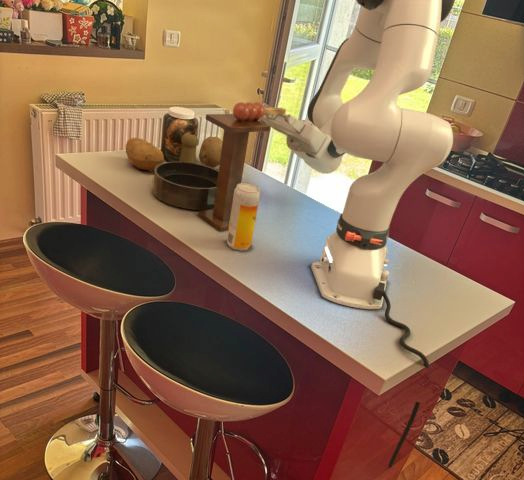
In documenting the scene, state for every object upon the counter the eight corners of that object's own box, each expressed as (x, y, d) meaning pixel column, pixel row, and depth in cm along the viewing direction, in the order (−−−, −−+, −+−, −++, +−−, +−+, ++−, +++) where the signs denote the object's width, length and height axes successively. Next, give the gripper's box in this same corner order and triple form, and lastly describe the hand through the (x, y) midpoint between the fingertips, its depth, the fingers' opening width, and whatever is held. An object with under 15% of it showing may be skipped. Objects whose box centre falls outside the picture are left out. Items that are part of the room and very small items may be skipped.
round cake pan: (218, 217, 147) (221, 194, 144) (145, 202, 147) (146, 178, 143) (228, 191, 164) (231, 170, 160) (162, 178, 163) (163, 156, 159)
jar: (153, 153, 180) (155, 105, 171) (182, 151, 187) (186, 104, 178) (172, 165, 173) (176, 116, 165) (202, 163, 180) (207, 116, 172)
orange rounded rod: (277, 116, 141) (280, 100, 139) (287, 121, 139) (290, 105, 136) (228, 117, 131) (230, 100, 129) (238, 123, 129) (241, 105, 127)
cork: (195, 175, 170) (199, 139, 164) (175, 171, 169) (179, 135, 163) (197, 169, 175) (201, 134, 168) (178, 165, 174) (182, 130, 168)
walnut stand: (229, 210, 153) (244, 113, 137) (252, 225, 147) (270, 126, 132) (194, 216, 145) (205, 114, 130) (216, 231, 140) (231, 127, 125)
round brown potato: (230, 169, 180) (235, 138, 175) (217, 175, 174) (221, 143, 168) (207, 161, 183) (210, 130, 177) (193, 167, 176) (196, 135, 170)
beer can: (255, 248, 136) (266, 190, 127) (238, 253, 132) (248, 194, 123) (238, 238, 139) (247, 181, 130) (221, 243, 135) (229, 184, 126)
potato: (145, 179, 160) (147, 151, 156) (117, 162, 167) (117, 136, 162) (171, 174, 167) (173, 148, 162) (143, 159, 173) (144, 133, 169)
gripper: (284, 116, 153) (256, 88, 142) (335, 139, 142) (309, 112, 131) (272, 136, 155) (243, 110, 143) (322, 161, 143) (295, 136, 132)
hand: (275, 111), depth 137 cm, fingers open, 8 cm apart
